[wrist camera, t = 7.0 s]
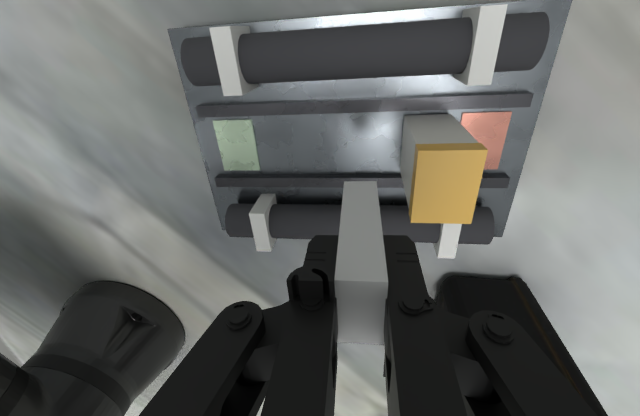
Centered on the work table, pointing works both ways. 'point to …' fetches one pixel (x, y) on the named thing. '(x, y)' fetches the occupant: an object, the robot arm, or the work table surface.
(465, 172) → the yellow and grey block
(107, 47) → the work table surface
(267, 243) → the pair of dark rods
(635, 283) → the work table surface
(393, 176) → the panel
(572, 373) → the voltmeter
